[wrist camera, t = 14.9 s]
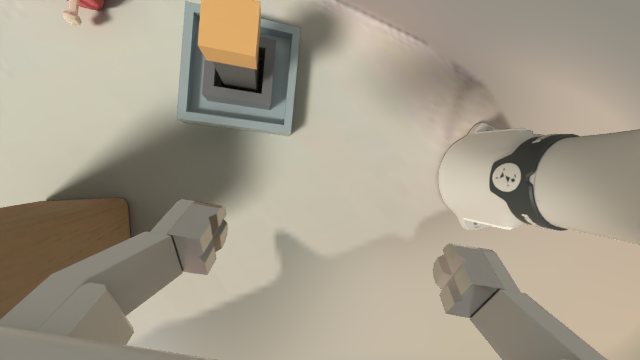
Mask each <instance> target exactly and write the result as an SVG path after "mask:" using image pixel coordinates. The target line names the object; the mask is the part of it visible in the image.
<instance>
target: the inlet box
mask: <svg viewBox="0 0 640 360" xmlns="http://www.w3.org/2000/svg"><path fill="white" fill-rule="evenodd" d="M200 8H201V4H196V3H192V2H188V1H185V12H184V25H183V39H182V52H181V65H180V79H179V92H178V105H177V119H178V120H180V121H182V122H184V123H192V124H200V125H207V126H215V127H223V128H230V129H238V130H246V131H254V132H261V133H269V134H277V135H285V136H289V135H290V134H291V126H292V115H293V105H294V95H295V84H296V74H297V63H298V53H299V42H300V32H301V28H300V27H295V26H291V25H287V24H283V23H278V22H274V21H270V20H265V19H261V27H260V38H259V60H260V62H264V72H263V84H262V94H259V93H253V92H247V91H241V90H235V89H229V88H223V87H221V82H222V80H221V78H220V76H219V74H218V72H217V70H216V68H215V66H214V64H213V62H212V61H208V60H206V59H205V57H204V55H203V54H202V52H201V50H200V48H199V47H198V34H199V21H200Z"/></svg>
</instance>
